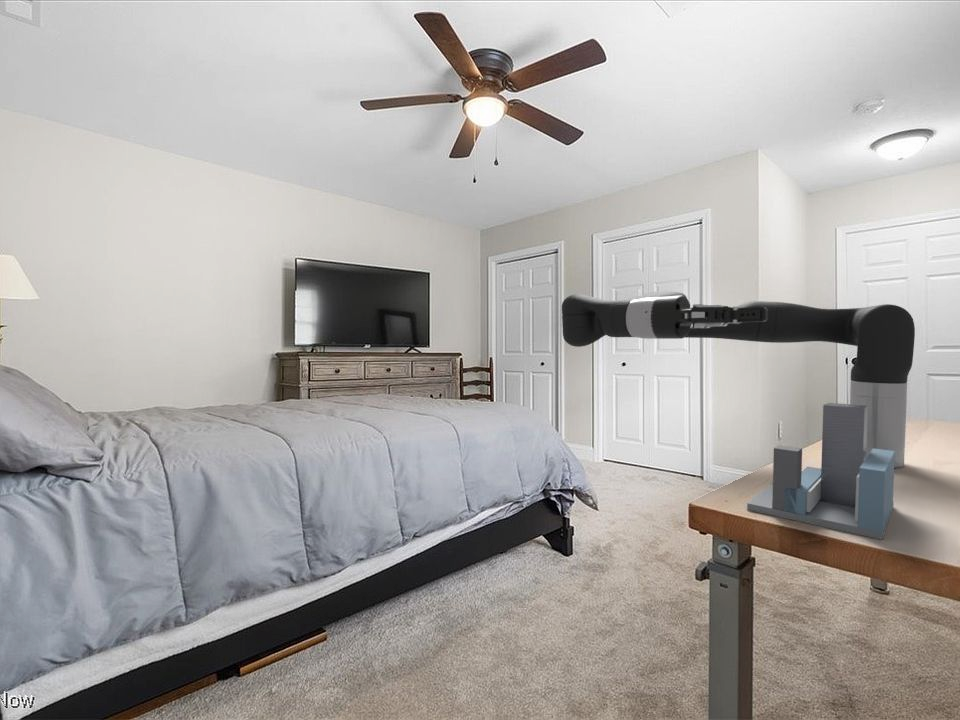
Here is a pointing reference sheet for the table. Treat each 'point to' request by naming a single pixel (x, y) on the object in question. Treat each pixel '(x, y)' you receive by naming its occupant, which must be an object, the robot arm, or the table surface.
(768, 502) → the vise base
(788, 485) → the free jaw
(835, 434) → the steel block
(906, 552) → the table surface
